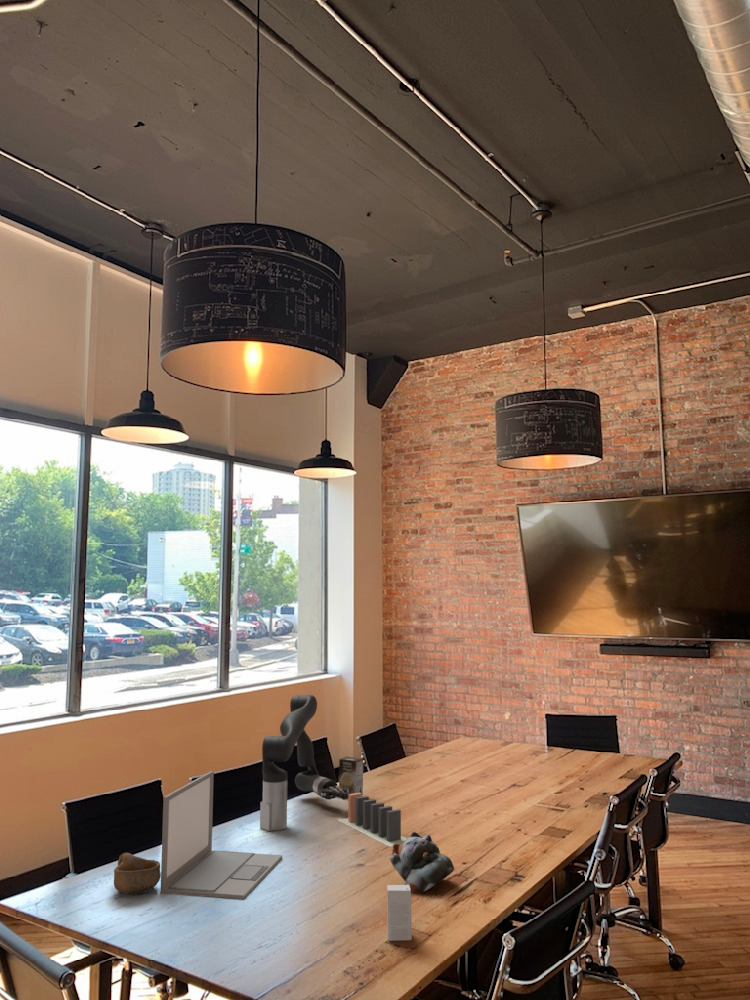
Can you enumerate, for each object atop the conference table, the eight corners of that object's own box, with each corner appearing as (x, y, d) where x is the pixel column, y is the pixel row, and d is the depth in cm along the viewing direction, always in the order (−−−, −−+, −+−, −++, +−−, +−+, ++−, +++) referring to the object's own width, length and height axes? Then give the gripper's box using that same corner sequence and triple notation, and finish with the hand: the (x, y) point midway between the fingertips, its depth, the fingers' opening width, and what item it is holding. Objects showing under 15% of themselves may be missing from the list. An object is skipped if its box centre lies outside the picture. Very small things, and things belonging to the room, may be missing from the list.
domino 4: (370, 832, 276) (370, 804, 277) (382, 830, 278) (381, 802, 279) (372, 833, 274) (372, 805, 276) (384, 831, 277) (384, 803, 278)
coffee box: (338, 797, 327) (338, 758, 329) (346, 793, 333) (346, 756, 335) (355, 799, 322) (355, 761, 324) (363, 796, 328) (363, 758, 330)
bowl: (89, 886, 221) (99, 849, 225) (128, 886, 232) (136, 851, 235) (126, 900, 211) (136, 861, 215) (165, 899, 221) (174, 862, 225)
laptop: (243, 900, 216) (245, 801, 219) (159, 893, 221) (162, 797, 224) (282, 859, 250) (283, 774, 253) (208, 854, 255) (210, 771, 258)
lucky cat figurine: (415, 898, 216) (392, 843, 222) (400, 901, 227) (379, 849, 232) (462, 871, 223) (439, 819, 229) (446, 875, 234) (424, 826, 240)
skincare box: (410, 933, 193) (410, 884, 195) (411, 941, 189) (411, 890, 190) (386, 933, 193) (386, 884, 195) (387, 941, 189) (387, 890, 190)
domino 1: (348, 821, 289) (348, 794, 291) (359, 819, 292) (359, 792, 293) (350, 822, 288) (350, 795, 289) (361, 820, 291) (361, 793, 292)
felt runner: (336, 820, 292) (336, 819, 292) (359, 816, 297) (359, 815, 297) (389, 847, 260) (389, 846, 260) (413, 842, 265) (413, 841, 265)
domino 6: (386, 840, 266) (386, 811, 268) (398, 838, 269) (398, 809, 270) (389, 841, 265) (388, 812, 266) (400, 839, 268) (400, 810, 269)
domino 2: (355, 825, 285) (355, 797, 286) (366, 823, 287) (366, 795, 289) (357, 826, 283) (357, 798, 285) (368, 824, 286) (368, 796, 287)
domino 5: (378, 836, 271) (378, 807, 272) (390, 834, 274) (389, 805, 275) (380, 837, 270) (380, 808, 271) (392, 835, 272) (392, 806, 273)
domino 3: (362, 828, 280) (362, 800, 282) (374, 826, 283) (374, 798, 284) (365, 829, 279) (365, 801, 280) (376, 827, 281) (376, 799, 283)
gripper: (310, 780, 309) (331, 789, 294) (339, 776, 316) (360, 784, 301) (310, 799, 308) (330, 809, 293) (339, 794, 315) (360, 804, 300)
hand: (345, 796), depth 297 cm, fingers closed
